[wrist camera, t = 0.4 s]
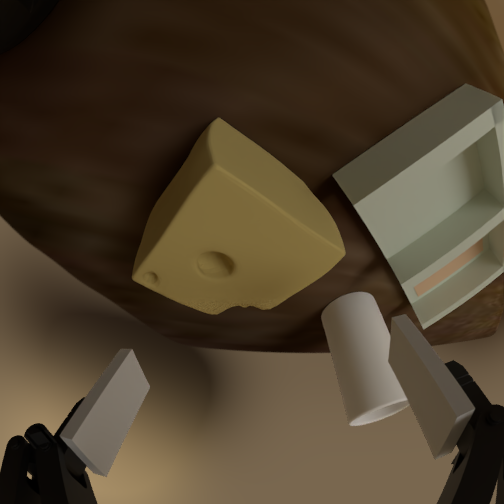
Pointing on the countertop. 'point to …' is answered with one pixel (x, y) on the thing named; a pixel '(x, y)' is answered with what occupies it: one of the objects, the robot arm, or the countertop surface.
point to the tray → (437, 200)
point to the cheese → (235, 229)
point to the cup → (362, 358)
